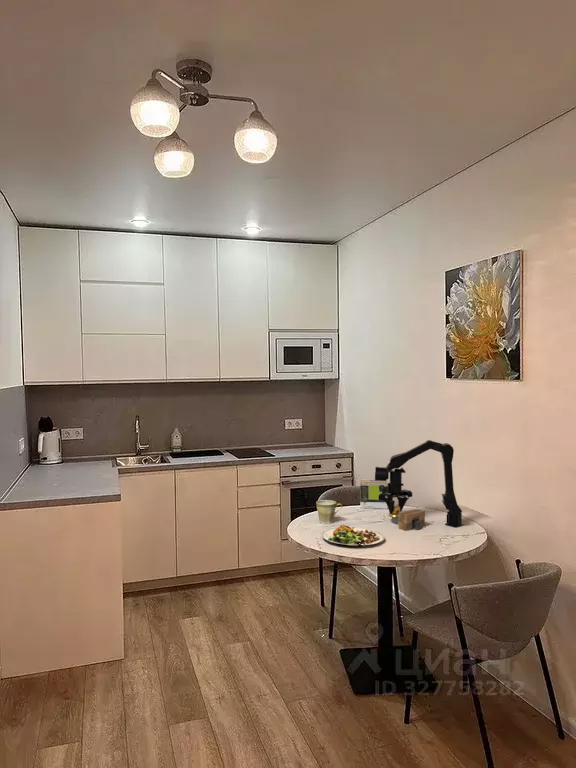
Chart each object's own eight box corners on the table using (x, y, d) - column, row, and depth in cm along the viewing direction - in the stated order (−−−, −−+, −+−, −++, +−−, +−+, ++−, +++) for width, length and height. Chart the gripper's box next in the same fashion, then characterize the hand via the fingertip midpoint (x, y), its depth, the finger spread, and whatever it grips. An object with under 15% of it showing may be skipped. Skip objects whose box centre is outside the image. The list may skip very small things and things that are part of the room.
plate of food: (338, 552, 236) (339, 538, 236) (311, 534, 262) (311, 521, 262) (396, 547, 247) (397, 533, 247) (364, 530, 272) (365, 517, 272)
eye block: (424, 526, 275) (424, 511, 275) (406, 530, 268) (406, 515, 268) (416, 524, 279) (416, 509, 279) (398, 528, 272) (398, 512, 272)
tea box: (387, 505, 319) (387, 478, 319) (387, 509, 309) (388, 482, 309) (360, 504, 321) (360, 478, 321) (359, 508, 311) (360, 481, 311)
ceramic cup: (316, 525, 277) (316, 504, 277) (315, 519, 287) (315, 499, 287) (343, 524, 278) (343, 504, 278) (340, 519, 288) (340, 499, 288)
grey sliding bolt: (423, 527, 272) (423, 511, 272) (414, 530, 268) (414, 513, 268) (395, 519, 286) (395, 503, 286) (386, 521, 283) (386, 505, 282)
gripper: (396, 476, 294) (396, 506, 294) (370, 480, 282) (370, 512, 283) (413, 480, 285) (412, 511, 285) (387, 484, 273) (386, 516, 274)
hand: (395, 512), depth 282 cm, fingers open, 6 cm apart
